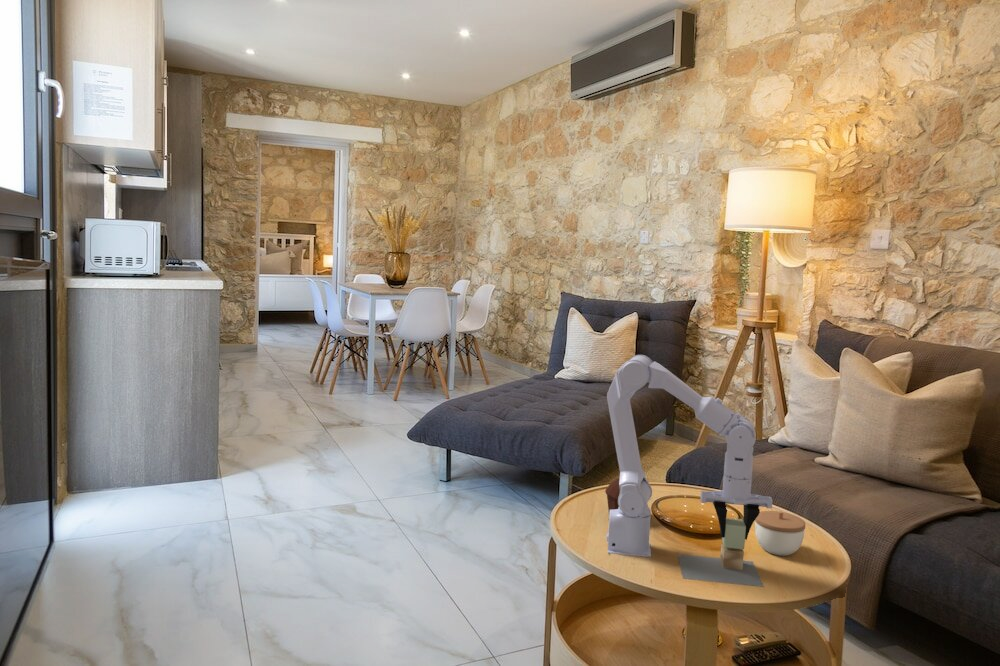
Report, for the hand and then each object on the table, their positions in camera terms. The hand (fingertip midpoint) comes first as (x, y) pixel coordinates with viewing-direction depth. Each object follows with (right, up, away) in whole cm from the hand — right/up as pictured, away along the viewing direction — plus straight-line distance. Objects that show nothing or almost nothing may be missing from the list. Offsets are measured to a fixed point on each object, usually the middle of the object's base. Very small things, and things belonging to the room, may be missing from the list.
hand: (733, 536), depth 150 cm
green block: (0, -2, 0) cm, 2 cm away
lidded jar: (+13, -6, +10) cm, 18 cm away
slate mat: (-4, -7, -2) cm, 8 cm away
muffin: (-18, -3, +28) cm, 33 cm away
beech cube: (0, -6, +1) cm, 6 cm away
